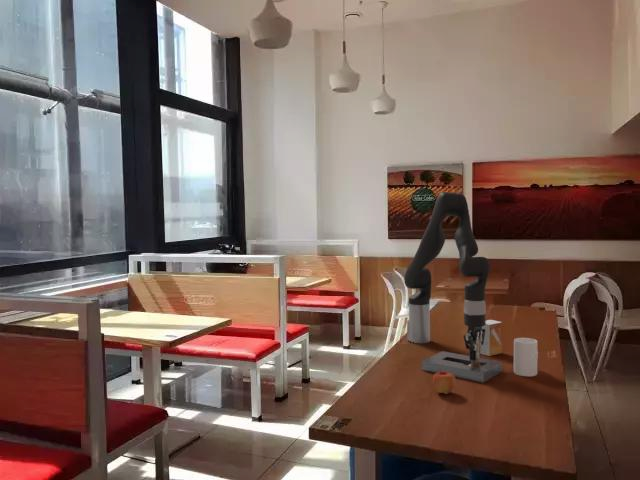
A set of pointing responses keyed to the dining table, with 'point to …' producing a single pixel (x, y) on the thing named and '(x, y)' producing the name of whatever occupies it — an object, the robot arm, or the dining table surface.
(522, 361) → the mug
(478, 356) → the stud
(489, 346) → the small box
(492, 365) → the keyhole plate
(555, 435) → the dining table surface
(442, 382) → the apple
